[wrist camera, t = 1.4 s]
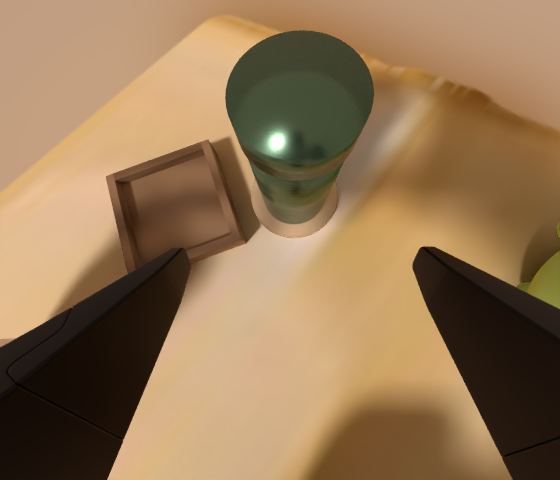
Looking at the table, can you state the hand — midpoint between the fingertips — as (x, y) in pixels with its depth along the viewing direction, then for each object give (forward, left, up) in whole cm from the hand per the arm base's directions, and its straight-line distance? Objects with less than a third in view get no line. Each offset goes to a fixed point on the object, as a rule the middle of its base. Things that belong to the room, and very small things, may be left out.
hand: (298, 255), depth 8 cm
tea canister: (+3, -7, -13) cm, 15 cm away
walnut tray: (+13, 0, -13) cm, 19 cm away
